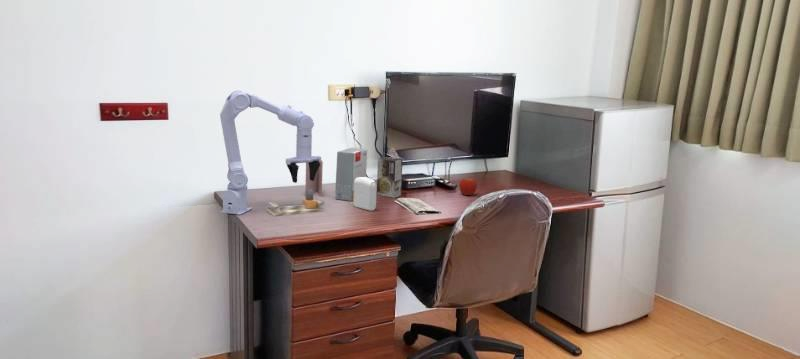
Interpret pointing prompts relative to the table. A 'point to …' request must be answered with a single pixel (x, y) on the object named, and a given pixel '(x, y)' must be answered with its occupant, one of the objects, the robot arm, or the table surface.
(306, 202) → the carriage
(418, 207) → the newspaper
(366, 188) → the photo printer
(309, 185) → the greeting card
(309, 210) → the rail
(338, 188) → the hard drive box
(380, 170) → the coffee box
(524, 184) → the table surface
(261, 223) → the table surface
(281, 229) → the table surface
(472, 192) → the apple
